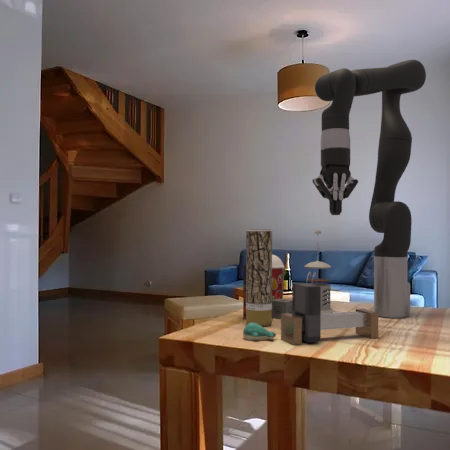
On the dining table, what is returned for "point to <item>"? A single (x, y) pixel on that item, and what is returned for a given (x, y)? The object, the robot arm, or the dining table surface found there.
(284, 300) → the grey cube
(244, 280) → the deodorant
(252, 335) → the whale figurine
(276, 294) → the smoothie
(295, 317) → the grey bar with endplates
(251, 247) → the paper tube
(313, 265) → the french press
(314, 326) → the collar
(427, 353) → the dining table surface
